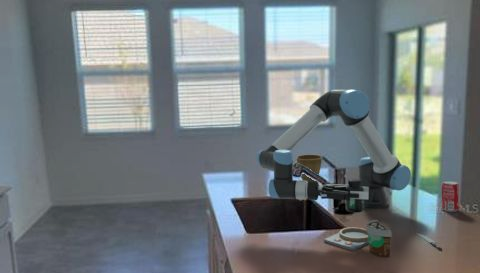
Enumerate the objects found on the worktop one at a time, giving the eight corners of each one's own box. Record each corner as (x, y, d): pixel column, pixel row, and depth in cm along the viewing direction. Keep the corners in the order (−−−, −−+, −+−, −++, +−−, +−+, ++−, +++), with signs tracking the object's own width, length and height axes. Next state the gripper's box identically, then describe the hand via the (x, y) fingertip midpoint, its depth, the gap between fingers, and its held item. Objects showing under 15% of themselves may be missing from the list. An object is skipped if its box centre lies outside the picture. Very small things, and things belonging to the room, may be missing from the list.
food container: (360, 246, 156) (360, 220, 154) (376, 245, 156) (377, 219, 155) (373, 260, 143) (374, 232, 142) (391, 258, 144) (391, 230, 143)
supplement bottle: (354, 214, 158) (354, 182, 156) (341, 209, 164) (341, 179, 162) (367, 210, 161) (368, 180, 159) (355, 206, 167) (355, 176, 165)
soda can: (460, 212, 188) (461, 184, 187) (443, 212, 190) (444, 184, 188) (456, 207, 195) (457, 180, 193) (439, 207, 197) (440, 180, 195)
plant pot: (297, 180, 259) (296, 154, 257) (321, 180, 257) (321, 154, 255) (296, 186, 245) (296, 159, 242) (323, 186, 242) (322, 159, 240)
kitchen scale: (324, 241, 161) (324, 236, 161) (349, 229, 172) (349, 224, 172) (354, 251, 152) (354, 245, 151) (378, 237, 163) (378, 232, 163)
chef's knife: (421, 232, 168) (413, 232, 168) (421, 230, 168) (414, 230, 168) (447, 251, 149) (439, 251, 149) (448, 248, 149) (439, 248, 149)
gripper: (311, 192, 177) (368, 195, 170) (304, 206, 158) (368, 210, 151) (311, 175, 176) (368, 177, 169) (303, 187, 157) (368, 190, 150)
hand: (368, 193), depth 160 cm, fingers closed on supplement bottle, 7 cm apart
